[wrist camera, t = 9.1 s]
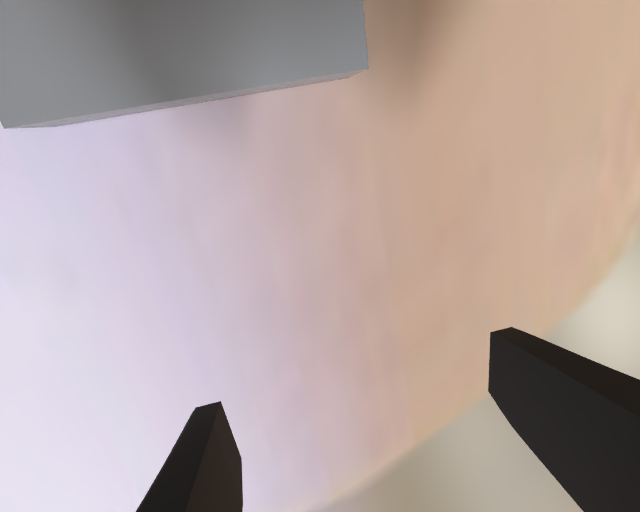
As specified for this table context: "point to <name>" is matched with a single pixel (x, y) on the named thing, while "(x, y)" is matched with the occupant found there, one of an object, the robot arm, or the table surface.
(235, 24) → the socket block
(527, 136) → the table surface
